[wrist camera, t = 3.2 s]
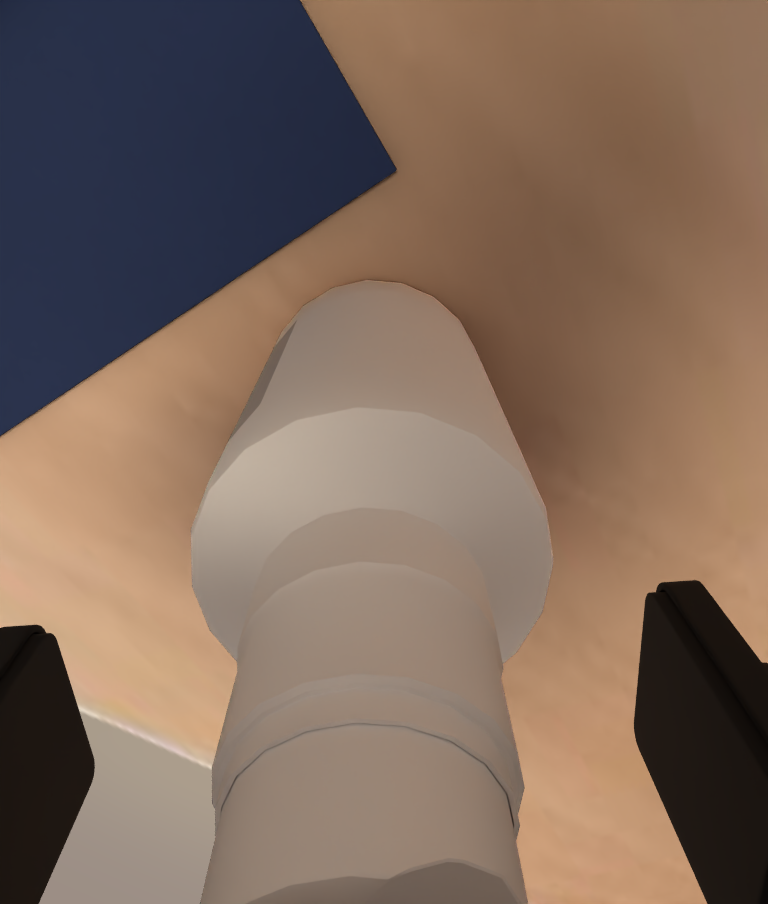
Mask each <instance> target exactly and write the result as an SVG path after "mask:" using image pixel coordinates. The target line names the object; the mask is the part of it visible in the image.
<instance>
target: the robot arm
mask: <svg viewBox="0 0 768 904" xmlns="http://www.w3.org/2000/svg"><path fill="white" fill-rule="evenodd" d="M634 732H635V738H636V742H637V745H638V748H639V750H640V753H641V755H642V757H643V759H644V762H645V764H646V766H647V768H648V771H649V773H650V775H651V777H652V780H653V782H654V784H655V786H656V789H657V791H658V793H659V795H660V798H661V800H662V802H663V804H664V807H665V809H666V811H667V813H668V816H669V818H670V820H671V822H672V825H673V827H674V829H675V832H676V834H677V836H678V838H679V841H680V843H681V845H682V847H683V850H684V852H685V854H686V856H687V859H688V861H689V863H690V865H691V868H692V870H693V872H694V874H695V877H696V879H697V881H698V883H699V886H700V888H701V890H702V892H703V895H704V897H705V899H706V901H707V904H768V663H762V662H761V661H760V660H759V658H758V657H757V656H756V654H755V653H754V652H753V650H752V649H751V648H750V646H749V645H748V644H747V642H746V641H745V640H744V638H743V637H742V636H741V635H740V633H739V632H738V631H737V629H736V628H735V627H734V625H733V624H732V623H731V621H730V620H729V619H728V617H727V616H726V615H725V613H724V612H723V611H722V609H721V608H720V607H719V605H718V604H717V603H716V601H715V600H714V599H713V597H712V596H711V595H710V593H709V592H708V591H707V590H706V588H705V587H704V586H703V584H702V583H701V582H700V581H696V580H692V581H677V582H663V583H660V584H659V585H658V587H657V590H656V592H654V593H648V594H647V596H646V600H645V609H644V620H643V631H642V641H641V652H640V663H639V674H638V684H637V695H636V706H635V717H634ZM94 768H95V767H94V757H93V754H92V751H91V747H90V744H89V741H88V738H87V735H86V731H85V728H84V725H83V722H82V719H81V715H80V712H79V709H78V706H77V703H76V699H75V696H74V693H73V690H72V687H71V684H70V680H69V677H68V674H67V671H66V668H65V664H64V661H63V658H62V655H61V652H60V648H59V645H58V642H57V640H56V637H55V636H54V635H53V634H51V633H46V632H45V630H44V629H43V628H42V626H39V625H26V626H11V627H2V628H0V904H39V902H40V899H41V897H42V895H43V893H44V890H45V888H46V886H47V883H48V881H49V879H50V877H51V874H52V872H53V869H54V867H55V865H56V863H57V860H58V858H59V856H60V854H61V851H62V849H63V847H64V845H65V843H66V840H67V838H68V836H69V833H70V831H71V829H72V827H73V824H74V822H75V820H76V818H77V815H78V813H79V811H80V808H81V806H82V804H83V802H84V799H85V797H86V795H87V793H88V790H89V788H90V786H91V783H92V780H93V776H94Z"/></svg>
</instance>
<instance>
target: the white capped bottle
mask: <svg viewBox="0 0 768 904" xmlns="http://www.w3.org/2000/svg"><path fill="white" fill-rule="evenodd" d="M191 560H192V587H193V590H194V592H195V595H196V597H197V600H198V602H199V605H200V607H201V610H202V612H203V615H204V617H205V620H206V622H207V624H208V627H209V629H210V631H211V632H212V634H213V635H214V636H215V637H216V638H217V639H218V640H219V642H220V643H221V644H222V645H223V646H224V647H225V649H226V650H227V651H228V652H229V653H230V654H231V656H232V657H233V658H234V659H235V660H236V661H237V675H236V679H235V683H234V686H233V690H232V694H231V698H230V702H229V705H228V709H227V713H226V717H225V721H224V724H223V728H222V732H221V736H220V740H219V743H218V747H217V751H216V755H215V759H214V762H213V766H212V804H213V806H214V808H215V836H216V837H215V842H214V846H213V850H212V855H211V859H210V863H209V868H208V872H207V876H206V880H205V885H204V889H203V893H202V898H201V902H200V904H528V901H527V895H526V890H525V885H524V880H523V875H522V870H521V864H520V859H519V854H518V849H517V844H516V839H517V835H518V831H519V827H520V823H519V819H518V812H519V808H520V804H521V800H522V796H523V792H524V783H523V778H522V773H521V768H520V763H519V757H518V752H517V748H516V743H515V739H514V735H513V730H512V726H511V721H510V717H509V712H508V708H507V703H506V699H505V694H504V690H503V685H502V681H501V677H502V672H503V663H504V662H506V661H507V660H508V659H509V658H510V657H512V656H513V655H514V654H515V653H516V652H517V651H518V649H519V648H520V646H521V645H522V643H523V642H524V640H525V638H526V637H527V635H528V634H529V632H530V631H531V629H532V628H533V626H534V624H535V623H536V621H537V620H538V618H539V617H540V615H541V614H542V611H543V607H544V603H545V598H546V594H547V589H548V585H549V581H550V576H551V572H552V568H553V552H552V545H551V538H550V531H549V525H548V518H547V511H546V507H545V505H544V503H543V500H542V498H541V496H540V494H539V491H538V489H537V487H536V485H535V482H534V480H533V478H532V476H531V473H530V471H529V469H528V467H527V464H526V462H525V460H524V457H523V455H522V453H521V451H520V448H519V446H518V444H517V442H516V439H515V437H514V435H513V433H512V430H511V428H510V426H509V424H508V421H507V419H506V417H505V415H504V412H503V410H502V408H501V406H500V403H499V401H498V399H497V397H496V394H495V392H494V390H493V388H492V385H491V383H490V381H489V378H488V376H487V374H486V372H485V369H484V367H483V365H482V363H481V360H480V358H479V356H478V354H477V351H476V349H475V347H474V345H473V344H472V342H471V340H470V338H469V336H468V335H467V333H466V331H465V329H464V327H463V326H462V324H461V322H460V320H459V319H458V318H457V317H456V316H455V315H453V314H452V313H451V312H450V311H449V310H448V309H447V308H446V307H445V306H443V305H442V304H441V303H440V302H439V301H438V300H437V299H436V298H435V297H433V296H431V295H428V294H426V293H424V292H421V291H419V290H417V289H415V288H412V287H410V286H408V285H405V284H403V283H396V282H385V281H375V280H364V281H360V282H355V283H351V284H346V285H342V286H338V287H333V288H331V289H330V290H328V291H326V292H325V293H323V294H322V295H320V296H318V297H317V298H315V299H313V300H312V301H310V302H308V303H307V304H305V305H303V307H302V308H301V309H300V310H299V311H298V313H297V314H296V315H295V316H294V317H293V319H292V320H291V321H290V322H289V323H288V325H287V326H286V327H285V328H284V329H283V331H282V332H281V334H280V336H279V338H278V340H277V342H276V344H275V346H274V348H273V351H272V353H271V355H270V357H269V359H268V361H267V363H266V365H265V367H264V369H263V371H262V373H261V375H260V377H259V379H258V381H257V383H256V385H255V387H254V389H253V391H252V394H251V396H250V398H249V400H248V402H247V404H246V406H245V408H244V410H243V412H242V414H241V416H240V418H239V420H238V422H237V424H236V426H235V428H234V430H233V432H232V434H231V437H230V439H229V441H228V443H227V445H226V447H225V449H224V451H223V453H222V455H221V457H220V459H219V461H218V463H217V465H216V467H215V469H214V471H213V473H212V475H211V477H210V479H209V482H208V484H207V487H206V490H205V492H204V495H203V498H202V501H201V503H200V506H199V509H198V511H197V514H196V517H195V520H194V522H193V525H192V528H191Z"/></svg>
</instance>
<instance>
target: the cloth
mask: <svg viewBox="0 0 768 904" xmlns="http://www.w3.org/2000/svg"><path fill="white" fill-rule="evenodd" d="M395 171H396V167H395V166H394V164H393V162H392V160H391V159H390V157H389V155H388V153H387V152H386V150H385V148H384V146H383V145H382V143H381V141H380V139H379V138H378V136H377V134H376V132H375V131H374V129H373V127H372V126H371V124H370V122H369V120H368V119H367V117H366V115H365V113H364V112H363V110H362V108H361V106H360V105H359V103H358V101H357V99H356V98H355V96H354V94H353V92H352V91H351V89H350V87H349V85H348V84H347V82H346V80H345V78H344V77H343V75H342V73H341V71H340V70H339V68H338V66H337V64H336V63H335V61H334V59H333V58H332V56H331V54H330V52H329V51H328V49H327V47H326V45H325V44H324V42H323V40H322V38H321V37H320V35H319V33H318V31H317V30H316V28H315V26H314V24H313V23H312V21H311V19H310V17H309V16H308V14H307V12H306V10H305V9H304V7H303V5H302V3H301V2H300V0H0V436H1V435H2V434H4V433H5V432H7V431H8V430H10V429H11V428H13V427H14V426H16V425H17V424H19V423H20V422H22V421H23V420H25V419H26V418H28V417H29V416H31V415H32V414H34V413H35V412H37V411H38V410H40V409H41V408H43V407H44V406H46V405H47V404H49V403H50V402H52V401H53V400H55V399H56V398H58V397H59V396H61V395H62V394H64V393H65V392H67V391H68V390H70V389H71V388H73V387H74V386H76V385H77V384H78V383H80V382H81V381H83V380H84V379H86V378H87V377H89V376H90V375H92V374H93V373H95V372H96V371H98V370H99V369H101V368H102V367H104V366H105V365H107V364H108V363H110V362H111V361H113V360H114V359H116V358H117V357H119V356H120V355H122V354H123V353H125V352H126V351H128V350H129V349H131V348H132V347H134V346H135V345H137V344H138V343H140V342H141V341H143V340H144V339H146V338H147V337H149V336H150V335H152V334H153V333H155V332H156V331H158V330H159V329H161V328H162V327H164V326H165V325H167V324H168V323H170V322H171V321H173V320H174V319H176V318H177V317H179V316H180V315H182V314H183V313H185V312H186V311H188V310H189V309H191V308H192V307H194V306H195V305H197V304H198V303H200V302H201V301H203V300H204V299H206V298H207V297H209V296H210V295H212V294H213V293H215V292H216V291H217V290H219V289H220V288H222V287H223V286H225V285H226V284H228V283H229V282H231V281H232V280H234V279H235V278H237V277H238V276H240V275H241V274H243V273H244V272H246V271H247V270H249V269H250V268H252V267H253V266H255V265H256V264H258V263H259V262H261V261H262V260H264V259H265V258H267V257H268V256H270V255H271V254H273V253H274V252H276V251H277V250H279V249H280V248H282V247H283V246H285V245H286V244H288V243H289V242H291V241H292V240H294V239H295V238H297V237H298V236H300V235H301V234H303V233H304V232H306V231H307V230H309V229H310V228H312V227H313V226H315V225H316V224H318V223H319V222H321V221H322V220H324V219H325V218H327V217H328V216H330V215H331V214H333V213H334V212H336V211H337V210H339V209H340V208H342V207H343V206H345V205H346V204H348V203H349V202H351V201H352V200H354V199H355V198H356V197H358V196H359V195H361V194H362V193H364V192H365V191H367V190H368V189H370V188H371V187H373V186H374V185H376V184H377V183H379V182H380V181H382V180H383V179H385V178H386V177H388V176H389V175H391V174H392V173H394V172H395Z"/></svg>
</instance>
